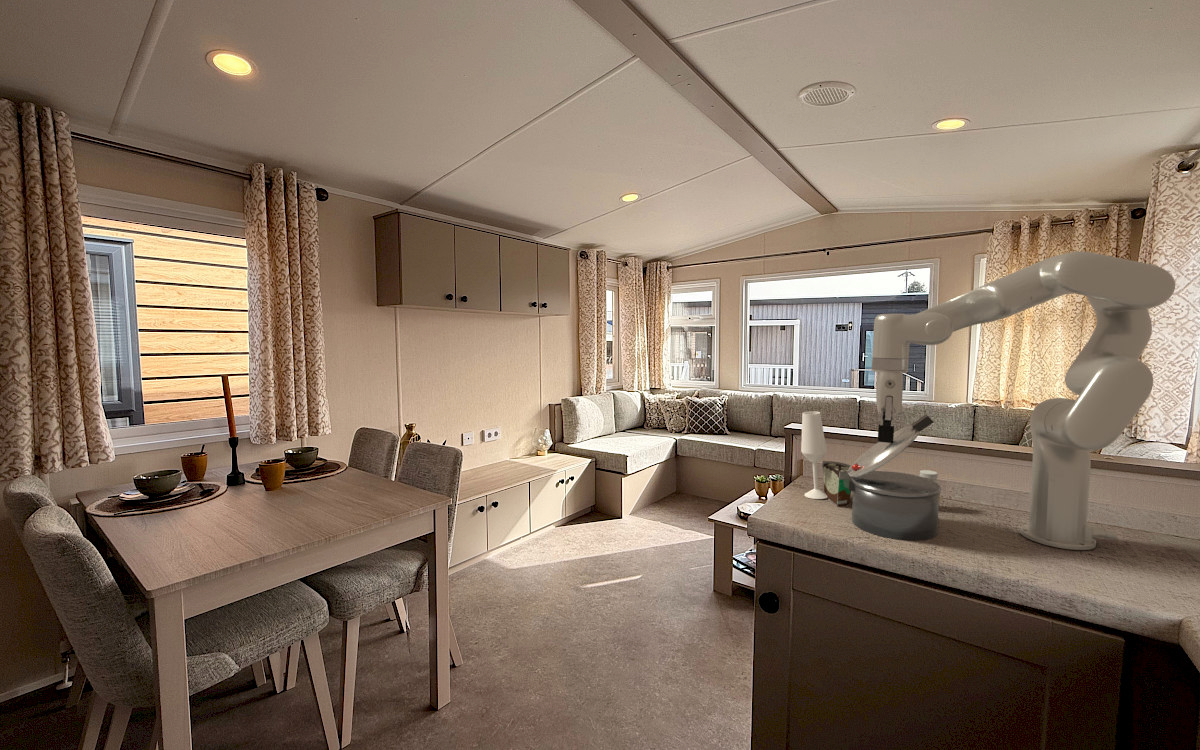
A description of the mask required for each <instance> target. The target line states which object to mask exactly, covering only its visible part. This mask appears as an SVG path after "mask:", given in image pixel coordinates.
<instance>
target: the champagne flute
mask: <svg viewBox="0 0 1200 750" xmlns="http://www.w3.org/2000/svg"><path fill="white" fill-rule="evenodd" d="M801 417H802V418H801V419H802V420H801V444H800V448H801V449H800V451H801V453H802V455H803V456H804V457H805V459H807V460H808V461H809V462H812V463H811V464H812V475H813V476H812V477H813V489H811V490H809V491H808V492H807V491H806V492H805V493H804V497H806V498H809V499H813V500H823V499H827V498H828V497H827V495H826V493H825V492H824V491H823V490H822V489H820V488H819V475H818V473H819V472H818V462H820V461H821V460H822V459H823V458H824V457H825V456H826V454H827V451H828V449H827V444H826V439H825V433H824V427H823V420H822V415H821V412H820V411H811V410H810V411H804V412H802V414H801Z"/></svg>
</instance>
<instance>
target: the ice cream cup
mask: <svg viewBox="0 0 1200 750" xmlns="http://www.w3.org/2000/svg"><path fill="white" fill-rule="evenodd" d="M851 465H852V464H851ZM851 465H850V464H848V463H844V462H839V461H831V460H822V463H821V468H822V485H823V486H822V487H823V488H822V489H823V490H822V491H824V492H825V493H826V495H827V497H828V498H826V499H827V500H828V501H829V502H830V503H832V504H833V505H834V504H835V505H834V506H836V507H837V508H842V507H847V506H849V505H850V504H851V498H852V497H851V496H852V491H849V477H850V476H849V475H848V473H847V471H848V469H849V467H850V466H851Z"/></svg>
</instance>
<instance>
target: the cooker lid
mask: <svg viewBox="0 0 1200 750" xmlns="http://www.w3.org/2000/svg"><path fill="white" fill-rule="evenodd" d="M933 423H935V422H934V420H933V419H932V418H931V417H930V416H929V415H928V414H927V413H926V414H923V415H922V416H921V417H920V418H918V419H917V420H916V421H914V422H912V423H911V424H910V425H908V426H905V427H902V428H900V429H899V430H896V431H894V438H893V443H887V442H879V441H878V442H876V443H875V444H874V445H873V446H871V447H870V448H869V449H867V450H866V451H864V452H863V453H862V454H861V455H860V456H859V457H857V459H856V460H855V461H854V462H852V463H851V466H850V467H849V469H848V471H847V473H848V475H849V476H850V477H851V478H858V477H861V476H864V475H866V474H868V473H870V472H872V471H877V469H879V468H881V467H882V466H884V465H885V464H887V463H889V462H890V461H892V460H893V459H894V458H896V457H897V456H899V454H901V453H902V452H904V451H905V450H906V449H907V448H908V447H909V446H910V445H911V444H912V443H913V442H914V441H915V440H917V438H918V436H919V435H920V432H922V431H923V430H925V429H926V428H928V426H930V425H932V424H933Z"/></svg>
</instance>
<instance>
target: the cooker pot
mask: <svg viewBox="0 0 1200 750" xmlns="http://www.w3.org/2000/svg"><path fill="white" fill-rule="evenodd" d="M849 491H851V492H852V494H851V496H852V497H851V498H852V501H851V502H852V505H851V509H852V510H851V522H852V524H853V525H854V526H855V527H857V528H858V529H860V530H862V531H865V532H867V533H869V534H872V535H875V536H878V537H883V538H887V539H892V540H900V541H917V542H918V541H926V540H927V541H928V540H931V539H933V538H936V537H937V536H938V534H939V533H938V532H939V509H940V502H939V494H940V495H941V492H942V488H941V484H940V485H939V484H937V483H936V482H934V481H932V480H930V479H927V478H924V477H920V475H915V474H910V473H905V472H899V471H898V472H895V471H888V470H887V471H886V470H882V471H881V470H874V471H872V472H870V473H868V474H866V475H864V476H861V477H858V478H851V477H849Z"/></svg>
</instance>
